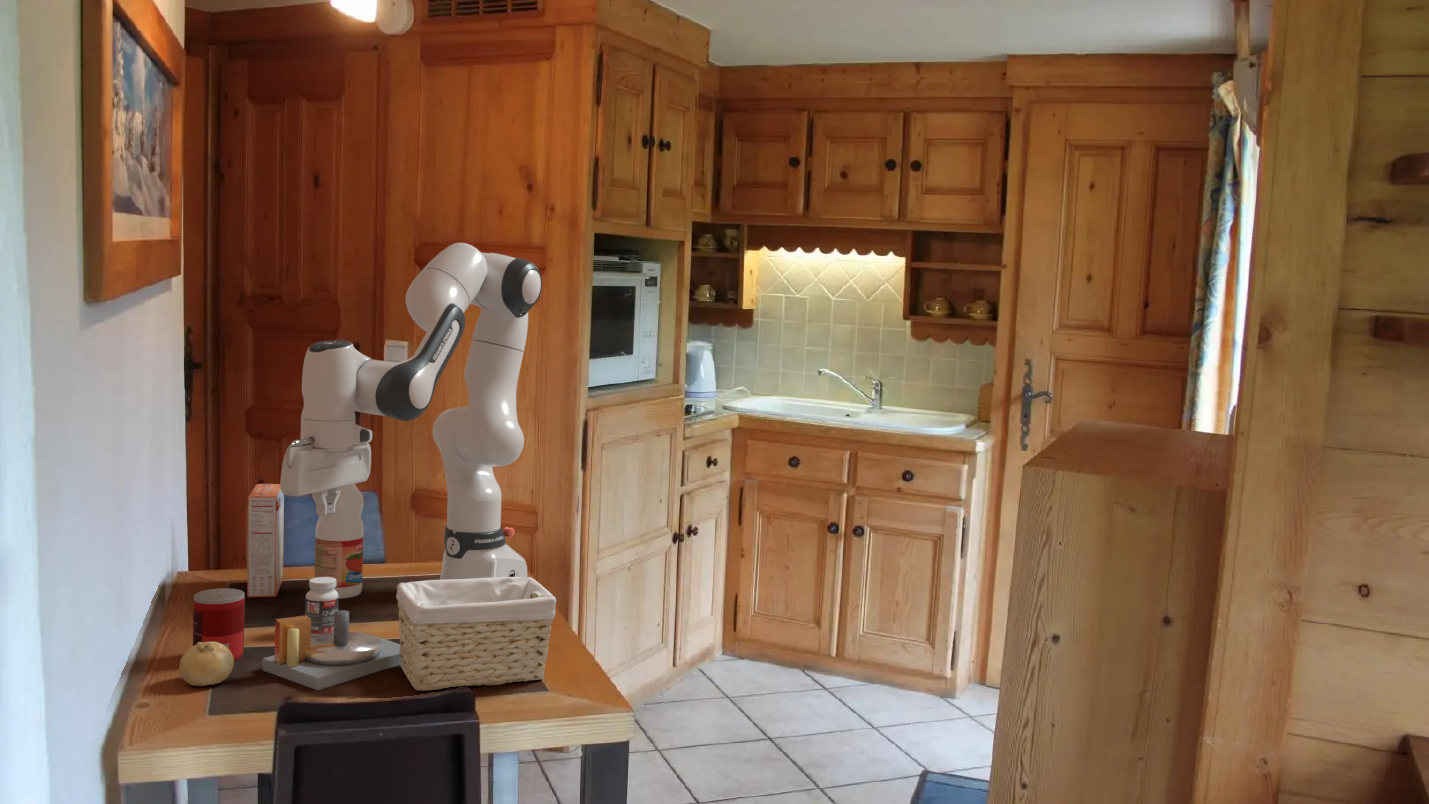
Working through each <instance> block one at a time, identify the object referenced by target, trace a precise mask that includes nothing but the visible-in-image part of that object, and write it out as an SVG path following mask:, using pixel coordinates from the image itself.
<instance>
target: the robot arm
mask: <svg viewBox="0 0 1429 804" xmlns="http://www.w3.org/2000/svg"><path fill="white" fill-rule="evenodd" d="M542 289H543V279H542V274H541V272H540V270H539V268H538V266H537V265H536V264H535V263H534V262H531V261H530V260H527V259H524V258H521V257H513V256H509V255H505V254H502V253H501V254H500V253H495V252H481V251H480V250H479V249H478V248H476V246H474V245H472V244H469V243H465V242H456V243H451V244H450V245H448V246H447V247H445V248H444V249H443V250H442V251H440V252H439V253H438V254H437V255H436V256H434V257H433V258H432V259H430V261H429V262H428V263H427V264H426V265H425V266H424V267H423V268H422V270H421V271H420V272H419V273H418V274H417V275H416V276H415V278H414V279H413V281H412V282H411V283H410V284H409V286H408V288H407V290H406V293H405V304H406V309H407V312H408V314H409V316H410V318H412V320H413V322H414V323H415V324H416V325H417V326H418V327H419V328H420V329H421V330H423V331H425V335H424V336H423V338H422V339H421V342H420V343H419V345H418V346H417V348H416V350H415V352H414V353H413V355H412V356H411V357H410V358H408V359H405V360H402V361H389V360H379V359H372V357H369V356H368V355H365V354H363V353H362V352H360V351H359V350H357V349H356V348H355V347H354V344H353V343H352V342H351V341H349V340H344V339H332V340H330V339H329V340H327V339H326V340H322V341H318V342H315V343H313V344H311V345H310V346H308V348H307V350H306V352H305V356H304V361H303V365H302V366H303V367H302V376H301V377H302V378H301V393H302V397H303V398H302V399H303V408H302V412H301V415H300V439H294V440H292V441H291V443H290V444H289V446H288V447H287V448H286V451H285V453H284V456H283V459H282V460H283V461H282V464H281V473H280V480H279V481H280V483H279V484H280V489H281V491H282V493H283V494H284V496H289V497H302V496H308V495H310V494H311V497H312V499H313V502H314V503H315V506H316V507H315V509H316V511H315V513H316V515H317V516H319V515H320V516H325V515H328V514H332V513H335V506H336V502H337V500H338V498H339V495H340V493H341V487H342V486H347V485H351V484H355V485H356V484H360V483H362V482H363V483H364V482H366V481H368V479H369V476H370V473H371V466H372V449H371V448H372V447H371V445H370V443H371V441H372V440H373V430H371V429H369V428H366V427H363V426H361V425H359V424H356V413H355V412H358V413H363V414H364V413H365V414H368V415H377V416H384V417H388V418H391V419H395V420H399V421H404V422H410V421H413V420H415V419H418V418H419V417H420V416H421V415H422V414H424V412H425V411H426V410H427V409H428V407H429V406H430V404H431V403H432V399H433V396H434V393H435V391H436V390H435V389H436V388H437V384H438V382H439V380H440V378H441V376H442V374H443V372H444V371H445V369H446V367H447V365H448V363H449V361H450V359H451V358H452V356H453V354H454V352H455V350H456V348H457V347H458V345H459V343H460V341H461V338H462V336H463V334H464V331H465V328H466V316H465V312H466V311H467V309H468V308H469V306H471V305H472V306H476V307H479V308H480V313H479V316H478V318H477V322H476V325H475V327H474V330H473V334H472V338H471V342H470V346H469V347H470V348H469V351H468V355H467V359H466V365H465V368H464V373H463V378H464V382H465V384H466V386H467V390H468V406H459V407H453V408H449V409H445V410H443V411H442V412H441V413H440V414H439V415H438V416H437V417H436V419H435V420H434V422H433V426H432V437H433V441H434V443H435V444H436V445H437V448H438V450H439V452H440V456H441V461H442V464H443V465H442V466H443V470H444V475H445V480H446V488H447V508H446V509H447V510H446V511H447V513H446V515H447V516H446V517H447V518H446V526H445V527H444V532H443V533H444V534H443V536H444V537H443V543H444V548H445V549H444V552H443V555H442V556H443V557H442V564H441V569H440V570H441V571H440V576H439V577H440V578H439V580H450V579H473V578H493V577H523V578H526V577H528V565H527V561H526V559H525V558H524V557H523V556H522V555H520V554H519V553H517V551H515V550H514V549H513V547H512V548H511V546H509V545H508V544H507V541H506V537H507V538H510V539H511V538H513V537H514V535H515V531H516V530H515V529H514V528H513V527H509V526H506V527H504V528H502V526H501V525H502V523H501V521H502V520H501V519H502V498H503V496H502V490H501V487H500V485H499V483H498V482H497V479H496V477H495V474H494V473H495V472H494V470H493V469H494V468H493V467H496V468H498V467H505V466H509V465H511V464H513V463H514V462H515V461H517V460H518V459H519V457H520V456H521V454H522V452H523V450H524V445H525V436H524V433H523V430H522V428H521V426H520V424H519V421H518V420H519V419H518V412H517V411H518V409H517V389H518V382H519V381H518V380H519V377H520V372H521V367H522V362H523V357H524V354H525V349H526V343H527V336H528V329H529V328H528V327H529V312H530V310H531V309H533V307H534V306H535V305H536V303H537V302H538V300H539V299H540V297H541V294H542ZM325 496H326V499H325Z"/></svg>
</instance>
